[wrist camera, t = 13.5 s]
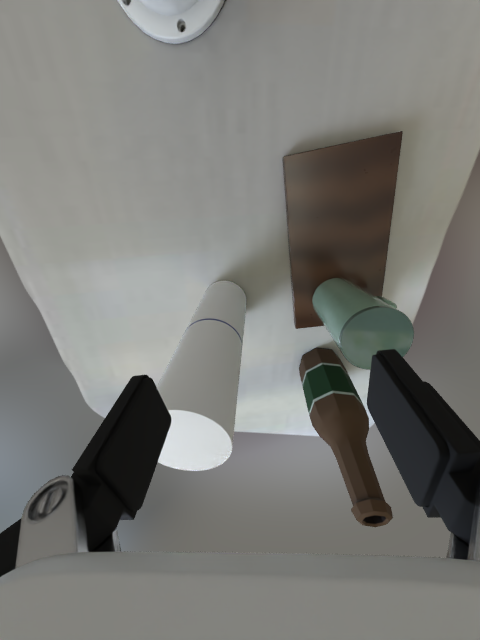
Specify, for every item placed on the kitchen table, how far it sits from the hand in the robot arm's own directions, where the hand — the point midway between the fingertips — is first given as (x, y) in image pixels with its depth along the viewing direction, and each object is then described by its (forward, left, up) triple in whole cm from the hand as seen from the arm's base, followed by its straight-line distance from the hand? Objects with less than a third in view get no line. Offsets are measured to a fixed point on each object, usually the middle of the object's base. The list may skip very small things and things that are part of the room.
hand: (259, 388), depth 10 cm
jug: (+9, +12, -26) cm, 30 cm away
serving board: (+2, +11, -28) cm, 30 cm away
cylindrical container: (+8, -7, -28) cm, 30 cm away
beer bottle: (+23, +8, -28) cm, 37 cm away
